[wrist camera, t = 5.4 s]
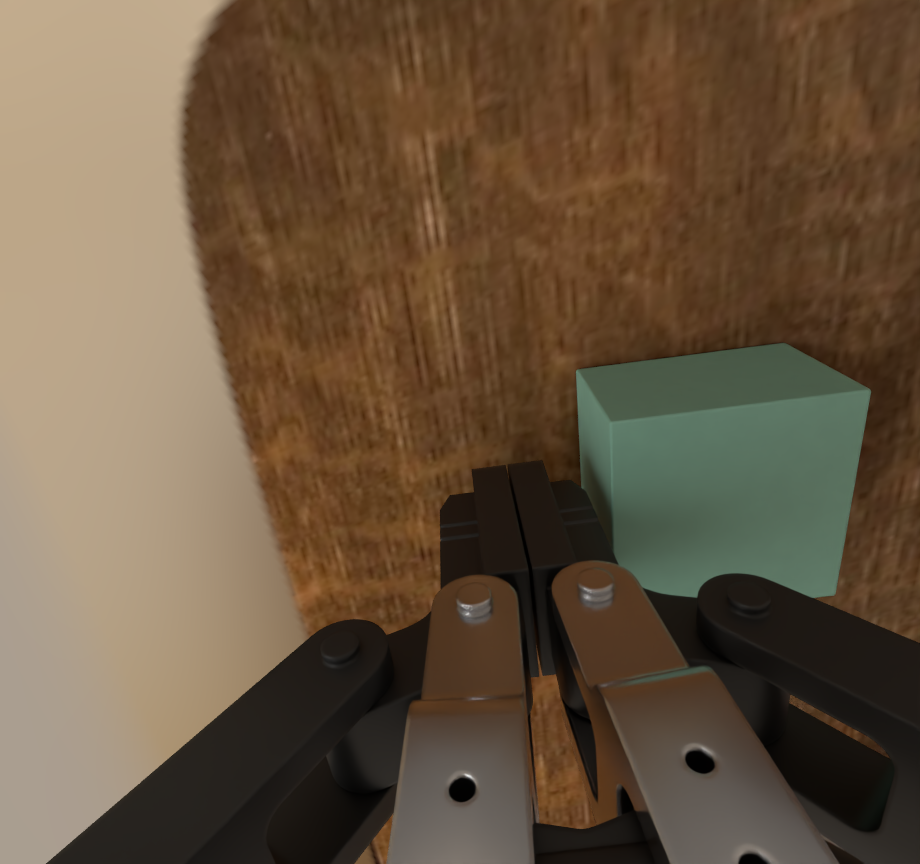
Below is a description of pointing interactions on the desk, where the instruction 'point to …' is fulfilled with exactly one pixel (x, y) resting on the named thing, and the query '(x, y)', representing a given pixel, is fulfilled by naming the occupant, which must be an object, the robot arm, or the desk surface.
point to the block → (723, 466)
